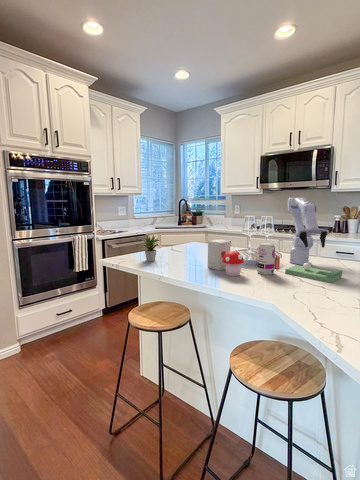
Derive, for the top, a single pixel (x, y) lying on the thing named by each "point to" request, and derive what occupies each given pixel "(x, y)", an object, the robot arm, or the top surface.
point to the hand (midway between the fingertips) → (315, 246)
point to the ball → (306, 266)
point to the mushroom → (233, 263)
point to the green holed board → (315, 273)
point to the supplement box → (217, 253)
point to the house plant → (150, 248)
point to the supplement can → (266, 258)
